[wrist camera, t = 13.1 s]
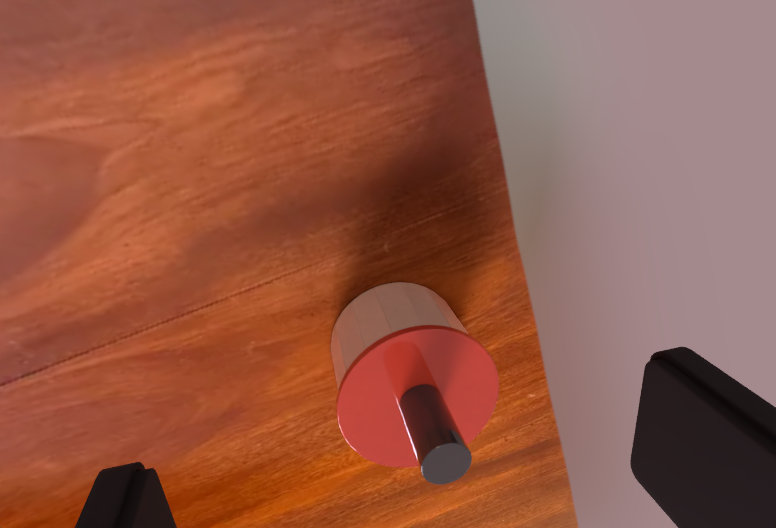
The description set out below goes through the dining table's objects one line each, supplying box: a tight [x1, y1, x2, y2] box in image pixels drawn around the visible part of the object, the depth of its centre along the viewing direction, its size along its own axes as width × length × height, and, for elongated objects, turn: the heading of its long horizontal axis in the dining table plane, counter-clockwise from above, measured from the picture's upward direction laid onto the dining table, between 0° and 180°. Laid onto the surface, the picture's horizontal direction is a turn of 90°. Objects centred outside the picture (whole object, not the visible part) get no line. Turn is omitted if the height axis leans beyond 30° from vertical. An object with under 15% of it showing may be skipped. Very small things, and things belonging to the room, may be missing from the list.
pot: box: [330, 282, 468, 389], centre depth 36 cm, size 10×10×8 cm
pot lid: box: [336, 325, 499, 484], centre depth 30 cm, size 11×11×7 cm
